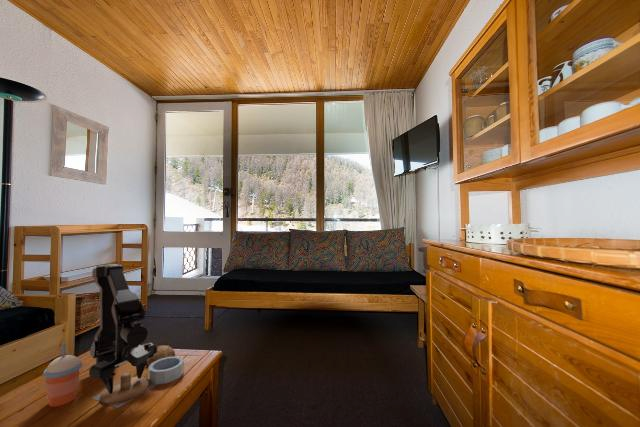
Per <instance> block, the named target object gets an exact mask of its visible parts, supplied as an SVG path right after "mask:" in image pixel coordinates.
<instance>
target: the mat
mask: <svg viewBox="0 0 640 427" xmlns="http://www.w3.org/2000/svg"><path fill="white" fill-rule="evenodd" d="M156 386H158V384H153V383H150V382H149V386H148V388H147V390H146V391H145V392H144V393H142V394H141V395H143V394H145V393H146V392H148V391H149V390H151V389H153V388H155V387H156ZM141 395H139V396H141ZM139 396H137V397H135V398H133V399H131V400H128V401H125V402H121V403H114V404H108V403H104V402H102V401H101V392H100V393H98V394H96V395H94V396H92V397H91V399H93V400H95V401H97V402H101V403H103V404H105V405H109V406H112V407H114V408H117V409H118V408H121V407H122V406H125V405H126V404H127V403H129V402H131V401H132V400H134V399H136V398H138V397H139Z"/></svg>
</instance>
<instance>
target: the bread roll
mask: <svg viewBox="0 0 640 427" xmlns="http://www.w3.org/2000/svg"><path fill="white" fill-rule="evenodd" d="M153 355H154V356H153V357H151V358H150V359H149V360H148V361H147V363H146V365H147V366H148V367H149V366H150V365H151V364H152V363H153V362H155V361H157V360H159V359H162V358H166V357H175V356H176V351H175V350H174V349H173V348H172V347H171V346H170V345H164V344H163V345H158V346H157V353H156V354H153Z"/></svg>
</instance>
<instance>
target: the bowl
mask: <svg viewBox="0 0 640 427" xmlns="http://www.w3.org/2000/svg"><path fill="white" fill-rule="evenodd" d="M147 369H148V373H147V377H148V378H147V379H148V380H149V382H150V383H153V384H157V385H163V384H168V383H171V382H174V381H177V379H179V378H181V377H182V376H183V374H184V373H185V360H184V358H183V357H180V356H176V355H175V357H166V358H162V359H159V360H157V361H155V362H153V363H152V364H151V365H150V366H148V368H147Z"/></svg>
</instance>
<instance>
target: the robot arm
mask: <svg viewBox="0 0 640 427" xmlns="http://www.w3.org/2000/svg"><path fill="white" fill-rule="evenodd" d="M91 273H92V274H91V275H92V278H93V280H94V283H95V285H96V286H97V287H98V288H99V328H98V329H97V331H96V333H95V334H94V341H92V344H91V347H90V351H89V352H90V356H91V358H92V359H95V364H92V365H91V367H89V369H88V370H89V373H88V375H89V376H90V377H93V378H97V379H99V380H101V382H102V383H103V385H104V387H105V388H107V390H108V392H109V393H110V394H112V393H113V383H114V376H115V375H116V373H115V372H114V371H115V370H116V369H117V368H119V367H120V365H122V364H125V363H126V362H127V363H129V364H131V366H132V367H135V372H136V377H138V378H139V379H140V378H141V377H143V373H144V370H145V368H146V365H147V364H146V363H147V361H148V360H149V359H150V358H151V357H153V356H154V355H153V354H156V353H157V347H158V346H157V345H156V344H154V343H152V342H145V341H146V340H147V338H148V330H147V328H146V327H144V326H143V325H142V322H141V320H145V315H146V311H145V308H144V306H143V305H144V304H143V303H142V301H141V300H140V299H139V297H138V295H137V294H136V293H135V292H133V291H131V289H130V287H129V285H128V282H127V279H126V277H125V275H124V266H123V264H117V263H109V264H100V265H99V264H98V265H96V267H95V268H93V269H92V272H91ZM144 342H145V343H144Z"/></svg>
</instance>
